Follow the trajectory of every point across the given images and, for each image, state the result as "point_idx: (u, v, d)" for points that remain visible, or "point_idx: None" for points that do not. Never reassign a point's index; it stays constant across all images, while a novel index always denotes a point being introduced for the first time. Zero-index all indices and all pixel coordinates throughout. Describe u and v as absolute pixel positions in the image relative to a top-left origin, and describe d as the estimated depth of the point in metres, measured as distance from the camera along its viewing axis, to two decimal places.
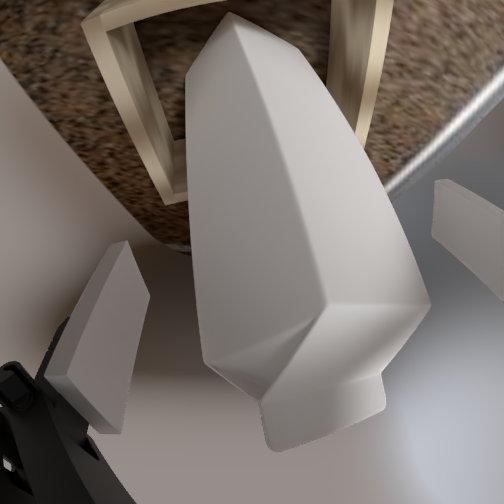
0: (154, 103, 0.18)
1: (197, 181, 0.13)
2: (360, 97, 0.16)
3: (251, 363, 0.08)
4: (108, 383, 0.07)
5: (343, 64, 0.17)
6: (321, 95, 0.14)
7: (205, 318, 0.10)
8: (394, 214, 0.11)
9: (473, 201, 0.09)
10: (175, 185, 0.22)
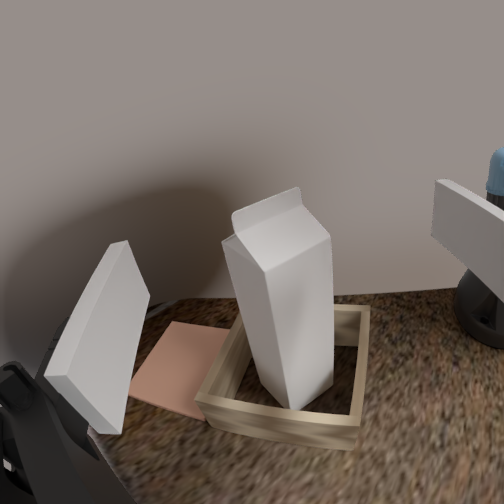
0: None
1: None
2: None
3: None
4: (108, 383, 0.07)
5: None
6: (296, 366, 0.25)
7: None
8: (276, 314, 0.21)
9: (473, 201, 0.09)
10: None
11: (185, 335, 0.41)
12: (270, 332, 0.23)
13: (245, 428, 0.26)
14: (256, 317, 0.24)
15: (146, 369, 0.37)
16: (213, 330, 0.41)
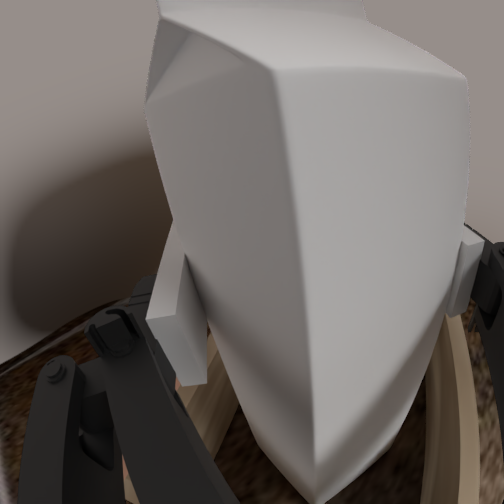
0: None
1: None
2: None
3: None
4: (197, 332, 0.08)
5: None
6: (346, 452, 0.08)
7: None
8: (323, 339, 0.05)
9: None
10: None
11: None
12: (287, 393, 0.06)
13: None
14: (242, 338, 0.08)
15: None
16: None
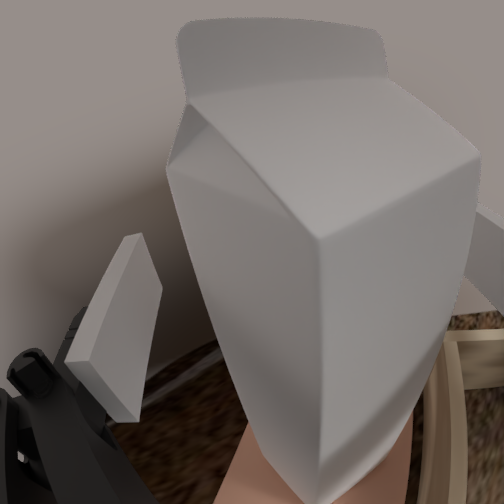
0: (498, 374, 0.16)
1: None
2: None
3: None
4: (127, 371, 0.07)
5: None
6: (344, 470, 0.09)
7: None
8: (332, 405, 0.05)
9: None
10: None
11: None
12: (298, 431, 0.07)
13: None
14: (259, 382, 0.08)
15: (242, 477, 0.16)
16: None
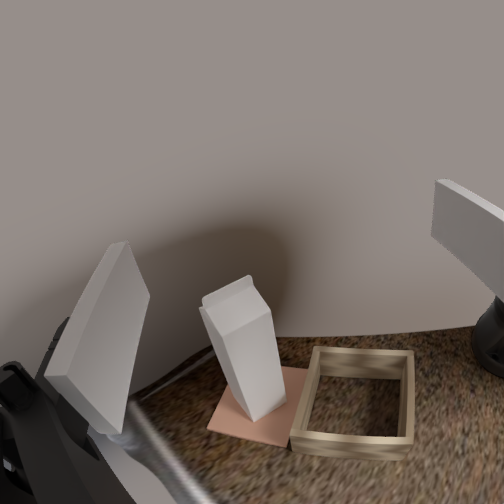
0: (354, 371, 0.42)
1: None
2: None
3: None
4: (108, 383, 0.07)
5: None
6: (252, 390, 0.35)
7: None
8: (232, 359, 0.31)
9: (473, 201, 0.09)
10: (319, 355, 0.42)
11: None
12: (231, 368, 0.33)
13: (324, 451, 0.32)
14: (222, 357, 0.34)
15: (224, 406, 0.42)
16: None
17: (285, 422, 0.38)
